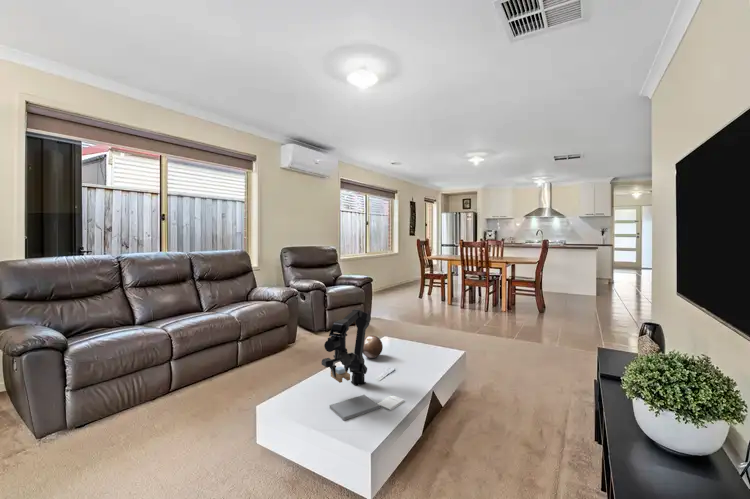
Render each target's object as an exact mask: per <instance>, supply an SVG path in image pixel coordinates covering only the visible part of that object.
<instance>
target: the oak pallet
mask: <svg viewBox="0 0 750 499" xmlns="http://www.w3.org/2000/svg"><path fill="white" fill-rule="evenodd" d="M330 377H331V378H332V379H334V380H335V381H337V382H338V383H339V384H340V383H343V379H344V380H345V381H347V382H348V381H351V374H350V372H346V371H345V373H342V374H337V373H336V378H334V376H333V374H332V371H331V370H330Z"/></svg>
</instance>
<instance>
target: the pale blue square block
mask: <svg viewBox="0 0 750 499" xmlns="http://www.w3.org/2000/svg"><path fill="white" fill-rule="evenodd" d="M336 373H337V374H342V373H345V368H344V366H338V367H337V366H336Z"/></svg>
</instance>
